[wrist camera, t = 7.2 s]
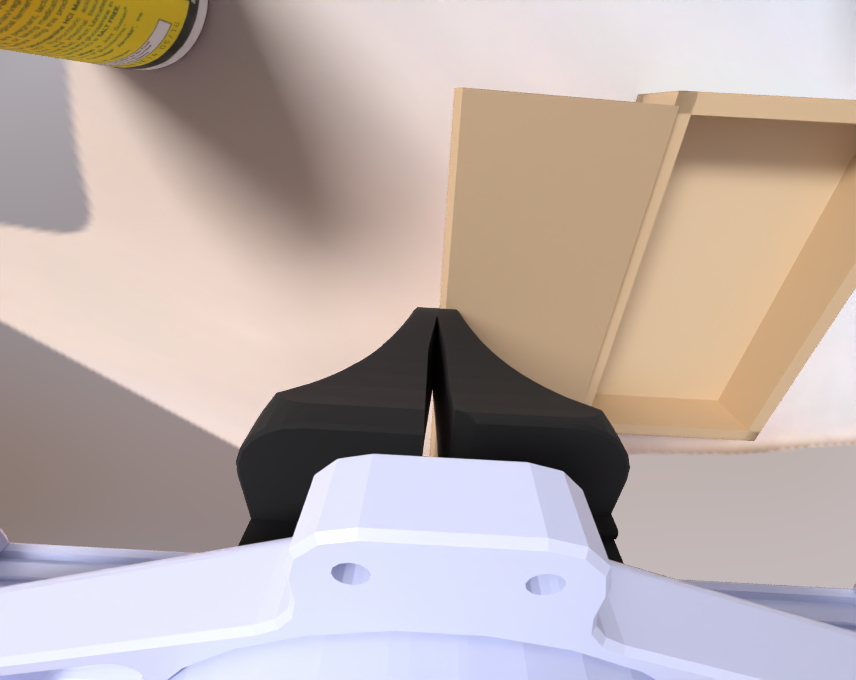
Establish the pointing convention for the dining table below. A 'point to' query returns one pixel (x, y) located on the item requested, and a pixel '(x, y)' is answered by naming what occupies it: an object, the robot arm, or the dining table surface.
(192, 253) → the dining table surface
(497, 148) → the lid
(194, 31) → the pill bottle
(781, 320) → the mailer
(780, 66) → the dining table surface
